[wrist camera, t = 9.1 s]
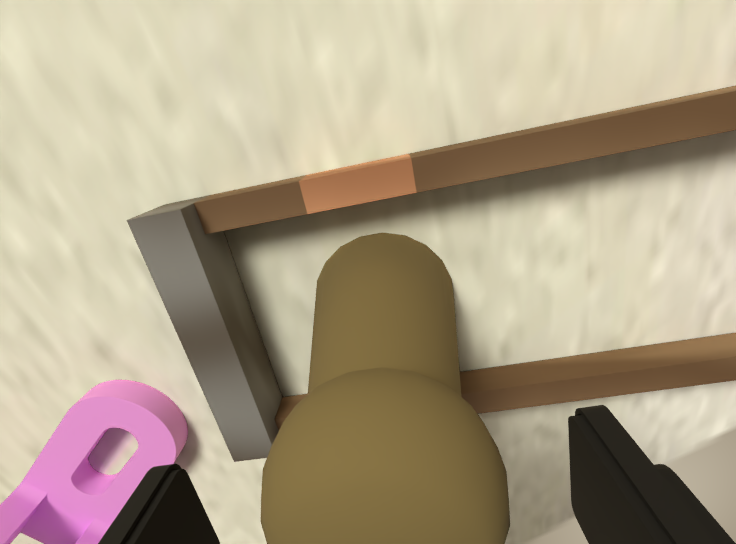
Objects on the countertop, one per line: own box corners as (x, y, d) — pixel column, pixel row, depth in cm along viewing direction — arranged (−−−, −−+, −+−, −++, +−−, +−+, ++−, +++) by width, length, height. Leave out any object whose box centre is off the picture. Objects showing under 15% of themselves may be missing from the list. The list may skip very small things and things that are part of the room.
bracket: (103, 540, 24) (2, 695, 18) (18, 498, 23) (-124, 646, 17) (208, 417, 20) (125, 560, 14) (110, 358, 19) (-32, 484, 13)
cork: (480, 311, 17) (622, 604, 7) (371, 378, 19) (356, 698, 8) (398, 203, 15) (426, 378, 5) (287, 286, 17) (141, 546, 7)
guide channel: (764, 351, 17) (822, 388, 15) (251, 421, 20) (234, 461, 18) (820, 67, 13) (914, 58, 11) (164, 204, 16) (126, 220, 13)
